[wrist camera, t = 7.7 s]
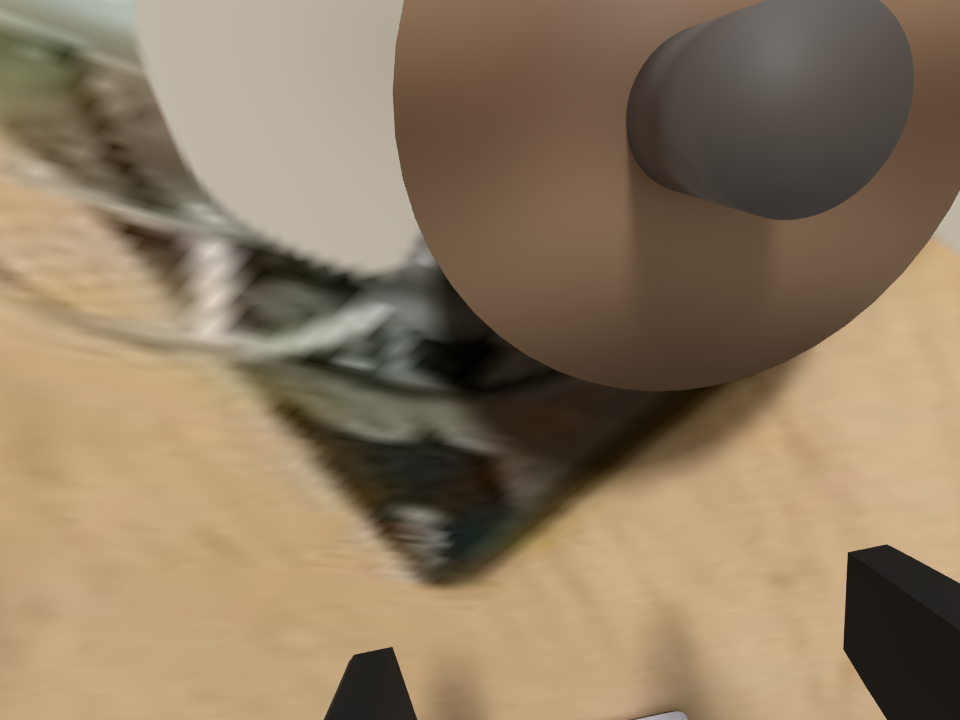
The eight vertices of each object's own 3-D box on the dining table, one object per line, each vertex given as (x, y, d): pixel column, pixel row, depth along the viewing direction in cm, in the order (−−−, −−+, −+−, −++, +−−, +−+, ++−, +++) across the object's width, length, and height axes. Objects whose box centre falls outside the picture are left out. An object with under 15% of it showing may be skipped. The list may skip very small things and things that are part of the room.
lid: (941, 318, 13) (1134, 394, 10) (465, 421, 14) (477, 535, 10) (1009, -341, 9) (1393, -648, 6) (317, -183, 9) (241, -381, 6)
